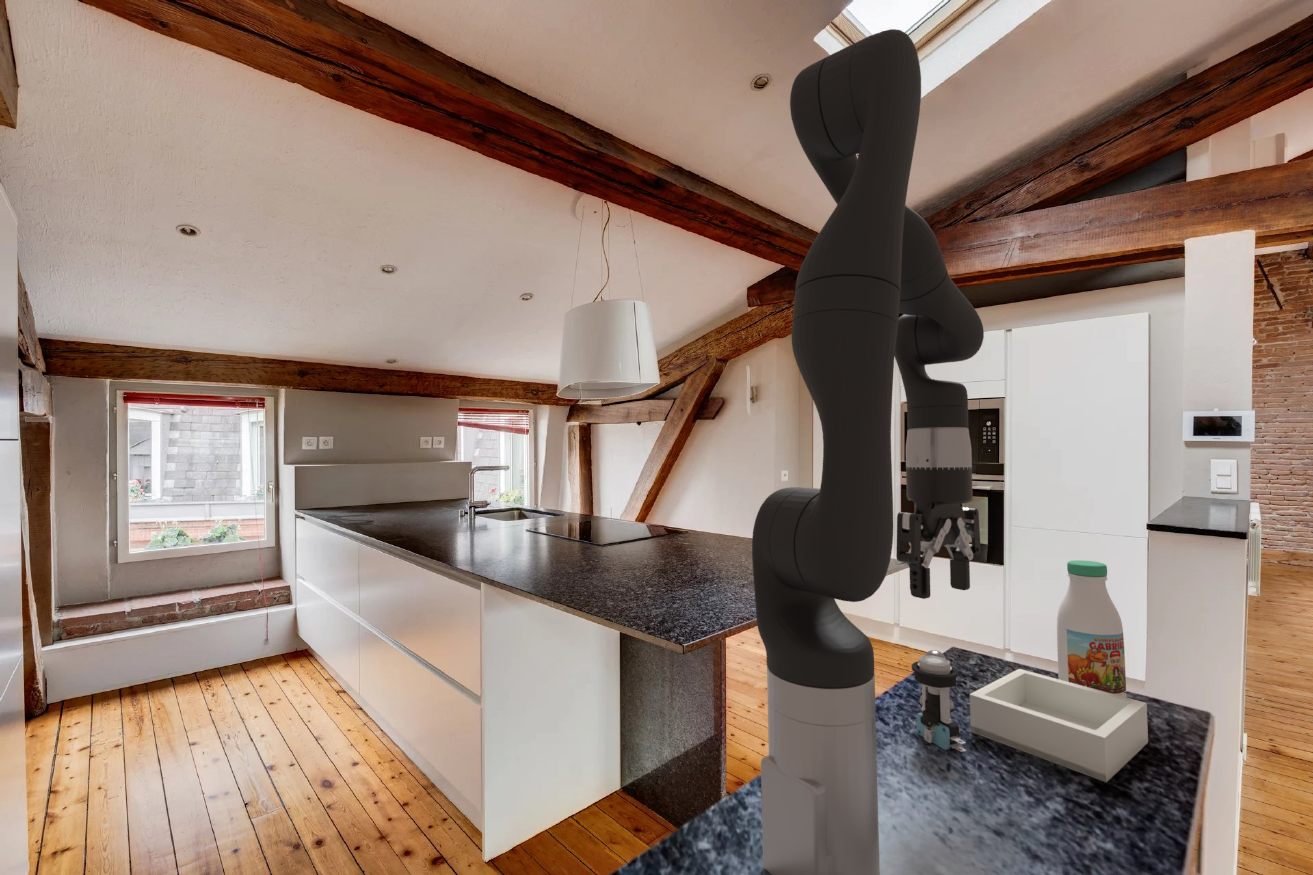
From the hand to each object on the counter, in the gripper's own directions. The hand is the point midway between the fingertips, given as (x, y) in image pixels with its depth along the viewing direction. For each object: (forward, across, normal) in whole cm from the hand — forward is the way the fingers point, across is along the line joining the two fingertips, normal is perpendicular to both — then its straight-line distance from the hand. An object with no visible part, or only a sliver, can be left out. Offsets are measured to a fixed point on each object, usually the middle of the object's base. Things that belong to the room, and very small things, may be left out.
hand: (941, 592), depth 72 cm
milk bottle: (+18, +28, -5) cm, 34 cm away
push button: (+19, 0, 0) cm, 19 cm away
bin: (+18, +13, -7) cm, 24 cm away
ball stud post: (+18, +9, +7) cm, 22 cm away
